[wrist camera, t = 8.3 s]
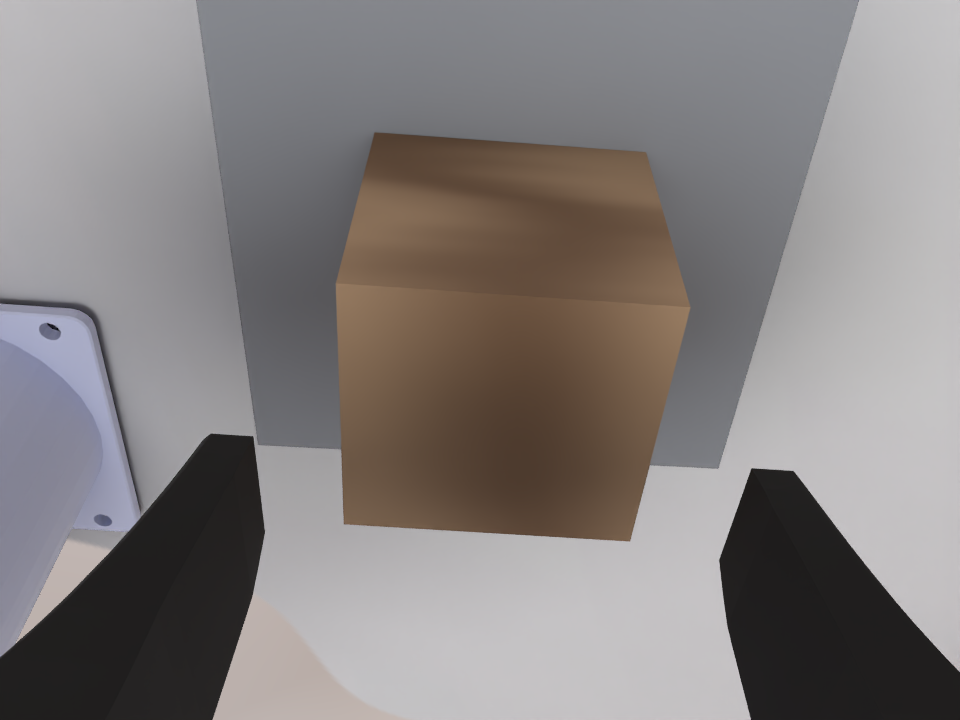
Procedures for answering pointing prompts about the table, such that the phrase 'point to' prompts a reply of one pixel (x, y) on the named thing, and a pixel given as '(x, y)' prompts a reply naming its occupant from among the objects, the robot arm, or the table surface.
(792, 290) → the table surface
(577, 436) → the walnut cube
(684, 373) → the gray block
